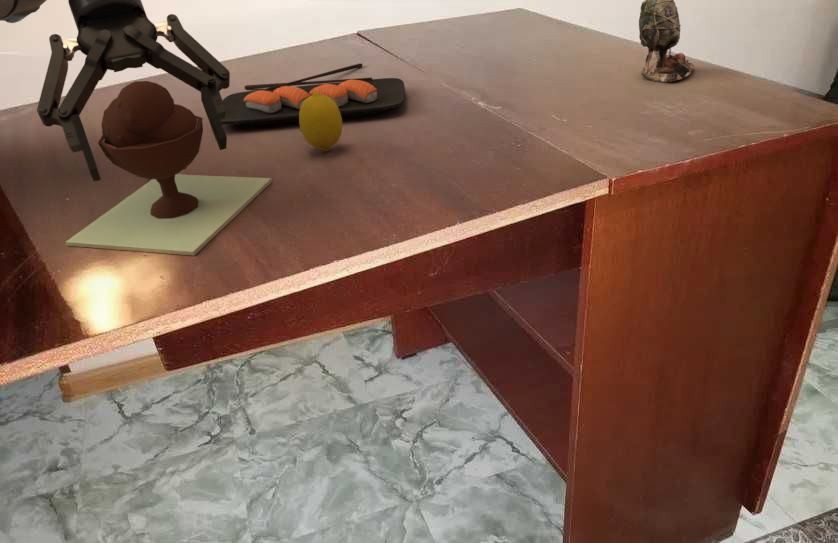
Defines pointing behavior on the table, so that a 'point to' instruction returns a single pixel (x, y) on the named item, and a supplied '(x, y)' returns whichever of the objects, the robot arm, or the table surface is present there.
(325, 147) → the lemon
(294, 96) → the sushi plate
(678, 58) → the plant with pod
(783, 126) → the table surface
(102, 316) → the table surface
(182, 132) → the ice cream bowl
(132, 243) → the placemat
